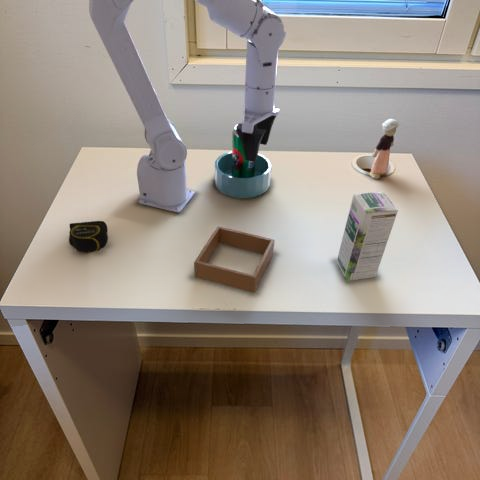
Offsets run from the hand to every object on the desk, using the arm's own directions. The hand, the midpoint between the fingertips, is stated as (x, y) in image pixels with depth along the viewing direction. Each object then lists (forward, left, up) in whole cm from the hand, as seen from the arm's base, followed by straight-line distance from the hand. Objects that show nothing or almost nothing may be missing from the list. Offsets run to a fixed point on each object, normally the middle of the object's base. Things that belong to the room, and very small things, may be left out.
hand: (256, 151), depth 98 cm
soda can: (-3, 0, -8) cm, 8 cm away
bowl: (-3, 0, -8) cm, 8 cm away
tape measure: (-23, -31, -8) cm, 39 cm away
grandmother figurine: (+25, +16, -8) cm, 31 cm away
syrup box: (+26, -20, -8) cm, 34 cm away
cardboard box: (+5, -27, -8) cm, 29 cm away
